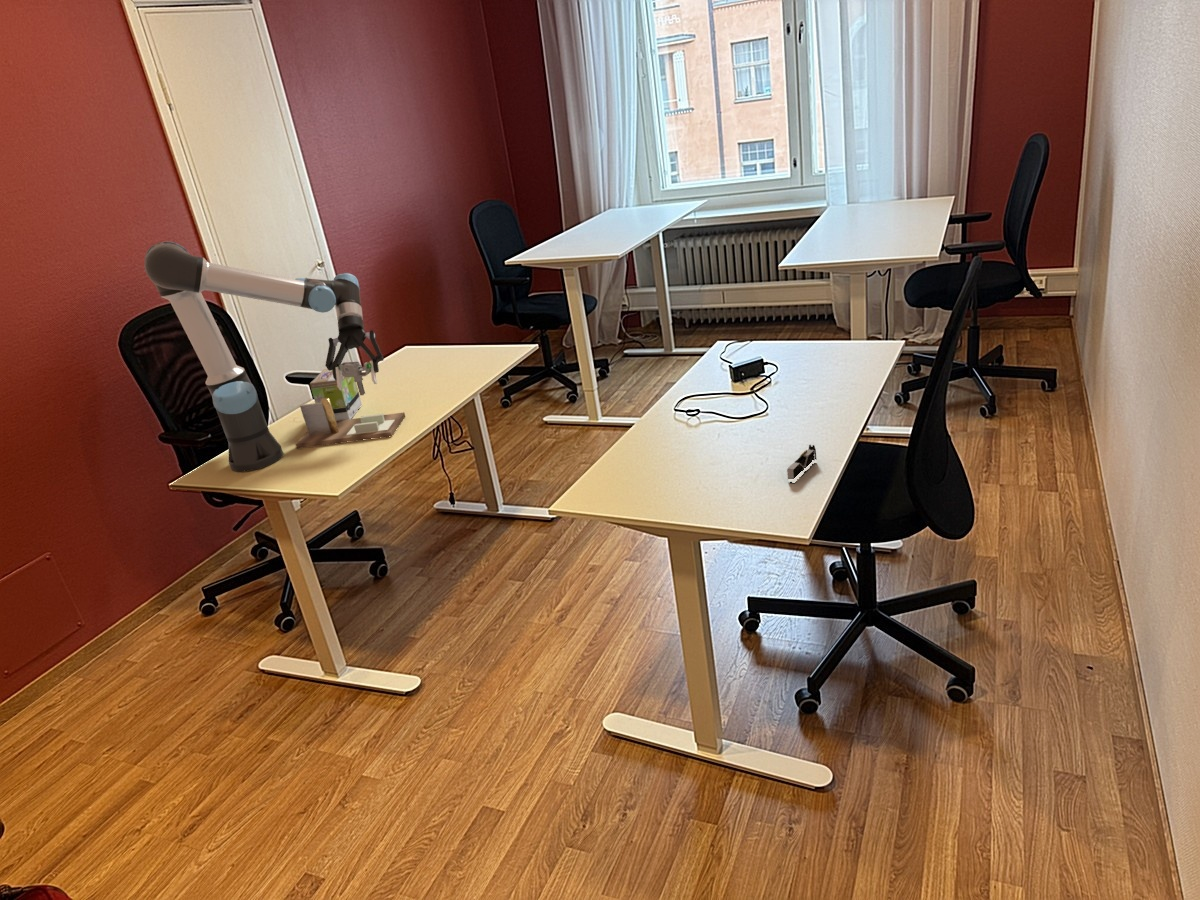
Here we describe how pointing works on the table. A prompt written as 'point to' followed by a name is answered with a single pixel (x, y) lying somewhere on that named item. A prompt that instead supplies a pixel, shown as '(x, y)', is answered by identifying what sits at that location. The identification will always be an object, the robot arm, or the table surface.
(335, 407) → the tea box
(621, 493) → the table surface
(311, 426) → the board
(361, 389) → the mechanical component
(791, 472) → the graphics card
